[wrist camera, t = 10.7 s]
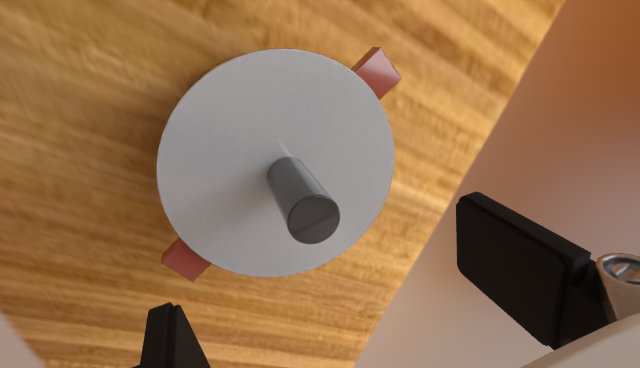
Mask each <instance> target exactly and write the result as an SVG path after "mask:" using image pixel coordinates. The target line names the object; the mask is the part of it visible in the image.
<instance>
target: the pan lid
mask: <svg viewBox="0 0 640 368" xmlns="http://www.w3.org/2000/svg"><path fill="white" fill-rule="evenodd" d="M394 160H395V154H394V141H393V135H392V130H391V127H390V123H389V120H388V117H387V115H386V113H385V111H384V108H383V106H382V104H381V103H380V101H379V99H378V98H377V96H376V95H375V93H374V92H373V91H372V90H371V88H370V87H369V86H368V85H367V84H366V83H365V81H364V80H362V79H361V78H360V77H359V76H358V75H357V74H355V73H354V72H353V71H352V70H350V69H349V68H347V67H346V66H344V65H343V64H341V63H339V62H337V61H335V60H333V59H331V58H328V57H326V56H324V55H320V54H317V53H313V52H310V51H305V50H297V49H290V48H282V49H266V50H259V51H254V52H250V53H247V54H243V55H240V56H237V57H235V58H233V59H230V60H228V61H226V62H224V63H222V64H220V65H218V66H217V67H215V68H214V69H212V70H211V71H209V72H208V73H206V74H205V75H204V76H202V77H201V78H200V79H199V80H198V81H197V82H196V83H194V84H193V85H192V86H191V87H190V88H189V90H188V91H187V92H186V93H185V94H184V95H183V97H182V98H181V99H180V100H179V102H178V103H177V105H176V107H175V108H174V110H173V111H172V113H171V115H170V117H169V119H168V121H167V124H166V126H165V128H164V130H163V133H162V137H161V140H160V144H159V148H158V154H157V163H156V175H157V186H158V192H159V197H160V200H161V203H162V206H163V209H164V212H165V214H166V216H167V218H168V220H169V221H170V223H171V225H172V227H173V228H174V230H175V231H176V232H177V234H178V235H179V236H180V238H181V239H182V240H183V241H184V242H185V243H186V244H187V245H188V246H189V247H190V248H191V249H192V250H193V251H194V252H196V253H197V254H198V255H200V256H201V257H202V258H204V259H205V260H207V261H209V262H211V263H212V264H214V265H216V266H218V267H221V268H223V269H225V270H228V271H231V272H234V273H238V274H242V275H248V276H254V277H281V276H288V275H294V274H298V273H302V272H305V271H308V270H312V269H314V268H316V267H319V266H321V265H323V264H325V263H327V262H329V261H331V260H333V259H334V258H336V257H337V256H339V255H340V254H342V253H343V252H345V251H346V250H347V249H349V248H350V247H351V246H352V245H353V244H354V243H356V242H357V241H358V240H359V239H360V237H361V236H362V235H363V234H364V233H365V232H366V231H367V230H368V228H369V227H370V226H371V224H372V223H373V222H374V220H375V219H376V217H377V215H378V214H379V212H380V210H381V208H382V206H383V204H384V202H385V200H386V198H387V195H388V192H389V189H390V186H391V181H392V177H393V172H394Z"/></svg>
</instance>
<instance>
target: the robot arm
mask: <svg viewBox="0 0 640 368" xmlns="http://www.w3.org/2000/svg"><path fill="white" fill-rule="evenodd" d="M456 229H457V231H456V232H457V266H458V268H459V270H460V272H461V273H462V274H463V275H464V276H465V277H466V278H467V279H468V280H469V281H471V282H472V283H473V284H474V285H475V286H476V287H477V288H479V289H480V290H481V291H482V292H483V293H484V294H486V295H487V296H488V297H489V298H490V299H491V300H492V301H493V302H495V303H496V304H497V305H498V306H499V307H500V308H501V309H502V310H504V311H505V312H506V313H507V314H508V315H509V316H510V317H512V318H513V319H514V320H515V321H516V322H517V323H518V324H520V325H521V326H522V327H523V328H524V329H525V330H526V331H528V332H529V333H530V334H531V335H532V336H533V337H534V338H536V339H537V340H538V341H539V342H540V343H542V344H543V345H545V346H548V345H549V346H550V347H551V348H552V349H553V350H554V351H553V352H551V353H549V354H547V355H545V356H543V357H541V358H539V359H537V360H535V361H533V362H531V363H529V364H527V365H525V366H523V367H521V368H640V257H639V256H635V255H631V254H624V253H610V254H605V255H603V256H601V257H599V258H598V260H597V261H596V262H595V261H593V260H591V259H590V255H591V252H589V251H587V250H585V249H583V248H581V247H579V246H578V245H576V244H574V243H572V242H570V241H568V240H567V239H565V238H563V237H561V236H559V235H557V234H556V233H554V232H552V231H550V230H548V229H546V228H544V227H543V226H541V225H539V224H537V223H535V222H533V221H531V220H530V219H528V218H526V217H524V216H522V215H520V214H518V213H517V212H515V211H513V210H511V209H509V208H507V207H505V206H504V205H502V204H500V203H498V202H496V201H494V200H493V199H491V198H489V197H487V196H485V195H483V194H482V193H479V192H473V193H470V194H468V195H465V196H462V197H461V198H460V199H459V202H458V203H457V204H456ZM132 368H210V365H209V363H208V361H207V359H206V357H205V355H204V353H203V351H202V349H201V347H200V345H199V343H198V341H197V338H196V336H195V334H194V332H193V330H192V328H191V326H190V324H189V322H188V320H187V318H186V316H185V314H184V312H183V310H182V308H181V306H180V305H176V306H173V304H172V303H170V302H169V303H166V304H164V305H161V306H158V307H155V308H153V309H150V310H149V312H148V318H147V324H146V330H145V337H144V343H143V349H142V355H141V361H140V365H138V366H135V367H132Z"/></svg>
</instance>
